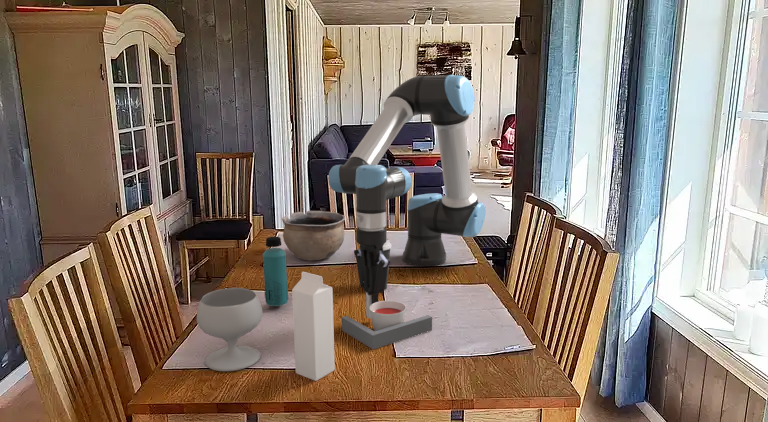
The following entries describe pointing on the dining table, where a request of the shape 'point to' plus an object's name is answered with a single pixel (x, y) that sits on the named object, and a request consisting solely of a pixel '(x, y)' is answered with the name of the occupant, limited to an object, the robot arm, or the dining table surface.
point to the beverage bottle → (275, 273)
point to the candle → (386, 314)
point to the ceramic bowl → (313, 234)
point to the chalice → (230, 326)
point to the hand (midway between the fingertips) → (372, 316)
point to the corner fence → (385, 331)
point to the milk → (313, 327)
